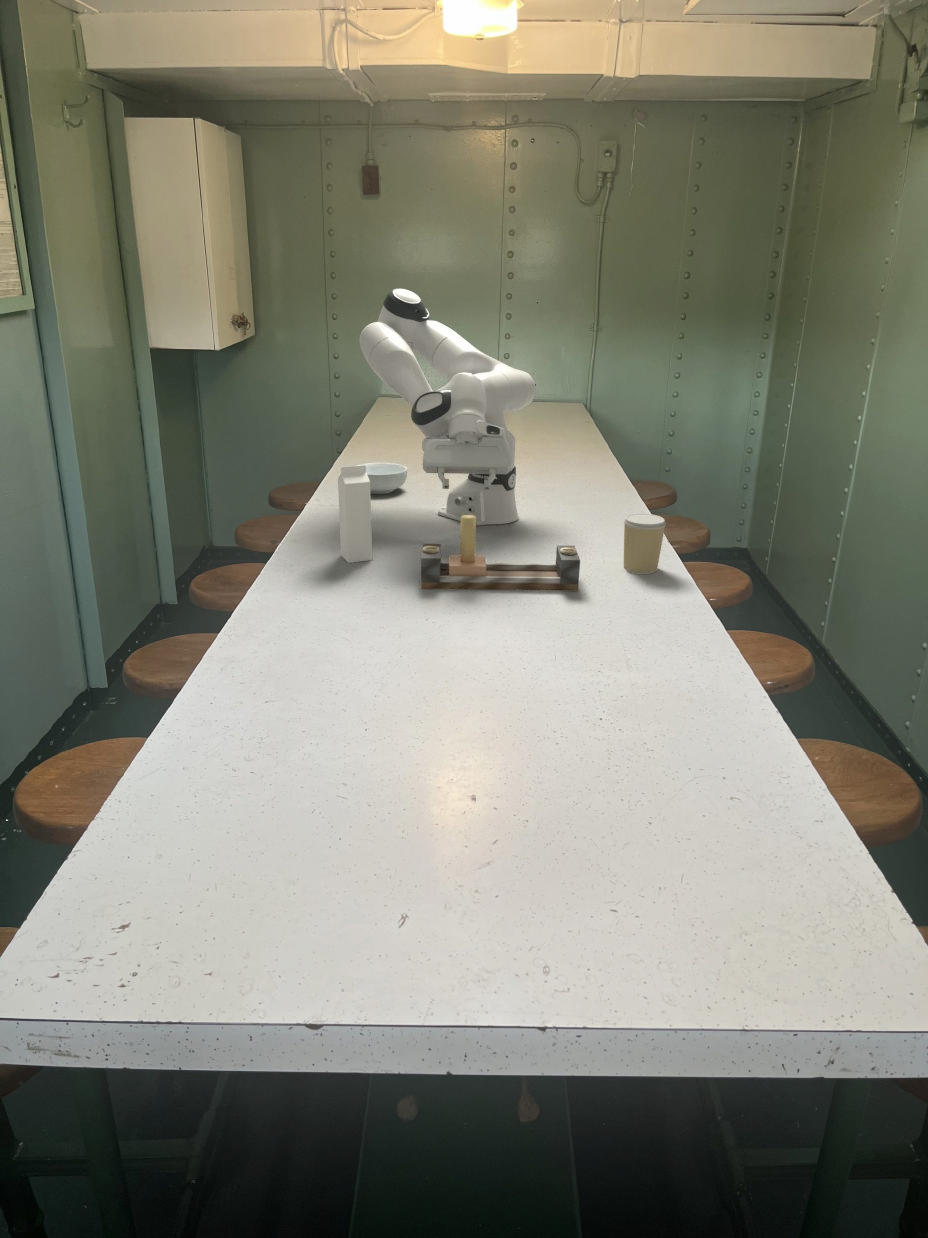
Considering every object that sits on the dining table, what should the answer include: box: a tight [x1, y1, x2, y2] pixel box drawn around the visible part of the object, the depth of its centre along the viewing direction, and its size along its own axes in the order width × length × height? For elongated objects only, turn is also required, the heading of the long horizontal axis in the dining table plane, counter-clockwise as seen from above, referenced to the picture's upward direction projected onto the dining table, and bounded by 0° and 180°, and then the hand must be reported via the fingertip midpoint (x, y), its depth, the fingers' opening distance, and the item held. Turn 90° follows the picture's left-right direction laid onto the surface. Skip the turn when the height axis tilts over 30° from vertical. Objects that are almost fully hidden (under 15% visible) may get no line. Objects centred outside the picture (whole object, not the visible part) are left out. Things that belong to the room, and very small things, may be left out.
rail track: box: [420, 543, 581, 592], centre depth 193 cm, size 34×10×8 cm, turn 90°
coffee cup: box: [623, 513, 667, 575], centre depth 202 cm, size 9×9×12 cm
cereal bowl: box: [356, 462, 408, 495], centre depth 265 cm, size 17×17×7 cm
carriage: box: [448, 515, 487, 576], centre depth 191 cm, size 8×7×13 cm
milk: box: [337, 465, 373, 564], centre depth 204 cm, size 6×6×22 cm
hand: (466, 488), depth 198 cm, fingers open, 8 cm apart
